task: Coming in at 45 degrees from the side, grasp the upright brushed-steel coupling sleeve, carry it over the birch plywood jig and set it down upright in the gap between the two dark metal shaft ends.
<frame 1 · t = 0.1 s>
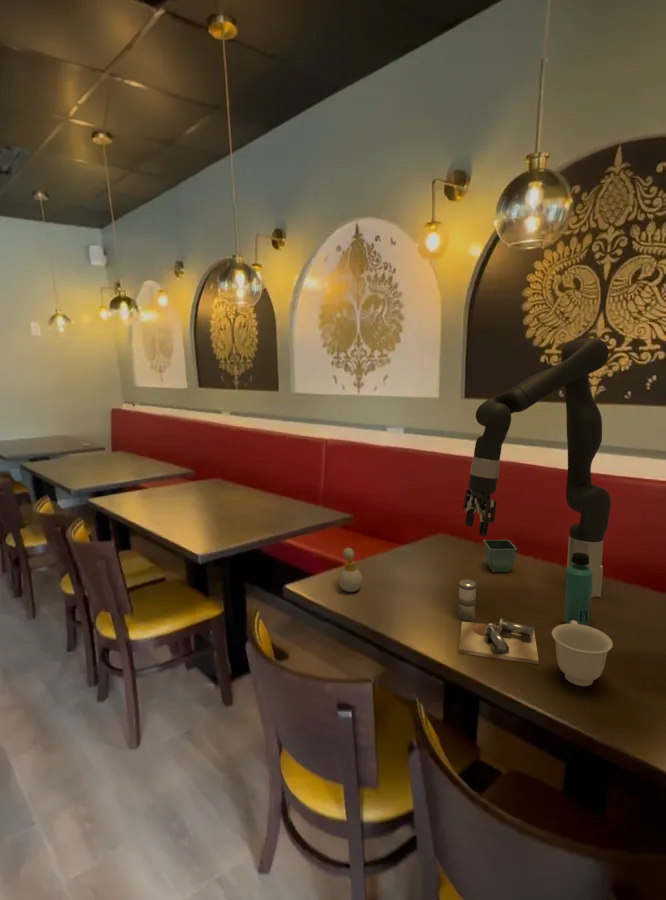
hand: (475, 530, 147), 22 cm above the table, tool pointing down, fingers open, 8 cm apart
perfume bottle: (348, 589, 163), on the table
beverage bottle: (575, 627, 138), on the table
base board: (497, 643, 130), on the table
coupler: (466, 616, 144), on the table
shaft a: (516, 629, 131), on the base board, point 3 cm above the table
teacup: (577, 675, 117), on the table
shaft b: (496, 638, 127), on the base board, point 3 cm above the table
flower pot: (498, 570, 175), on the table
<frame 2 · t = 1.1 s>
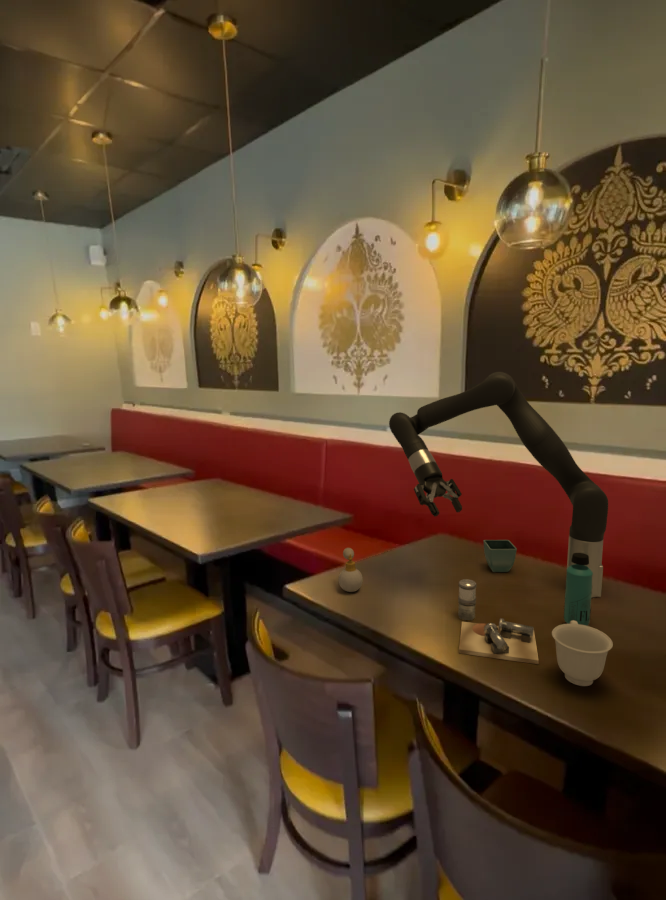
hand: (448, 513, 152), 26 cm above the table, tool tilted 45°, fingers open, 8 cm apart
nothing on the table moved.
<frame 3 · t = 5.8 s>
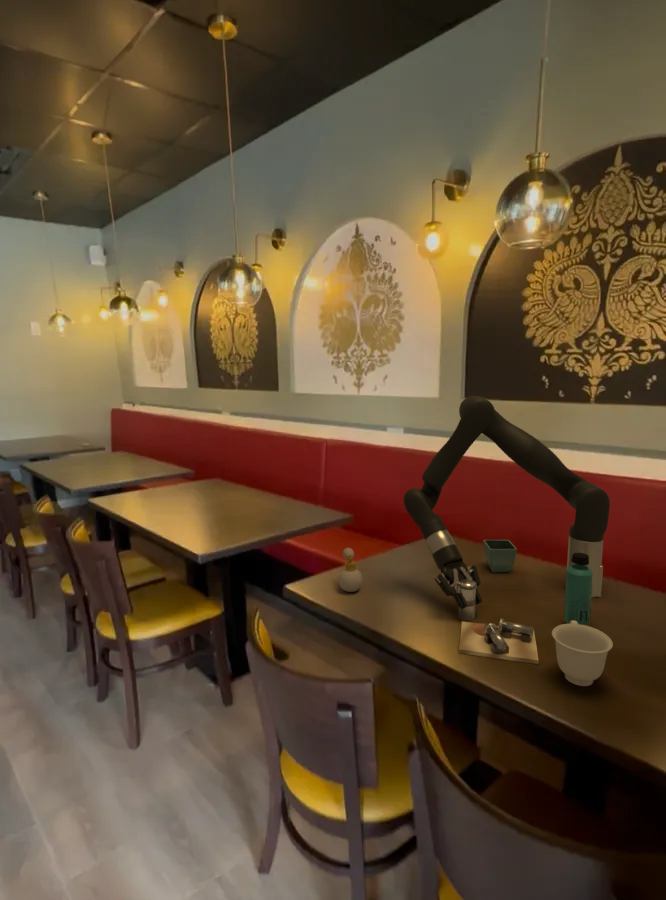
hand: (471, 605, 142), 4 cm above the table, tool tilted 45°, fingers closed on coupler, 4 cm apart
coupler: (466, 616, 144), on the table, touching gripper
everything else where it was.
when the fingers open (5 cm above the table, at t = 10.3 s): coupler stays where it is, resting on base board.
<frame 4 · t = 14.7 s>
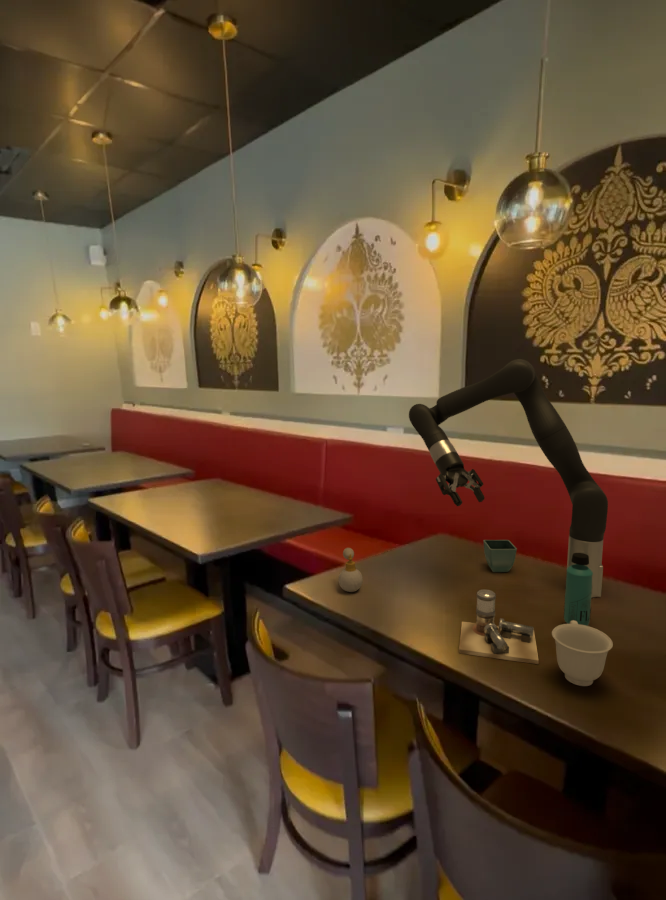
hand: (471, 502, 152), 29 cm above the table, tool tilted 45°, fingers open, 8 cm apart
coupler: (484, 629, 135), point 1 cm above the table, touching base board
everything else where it was.
at the end: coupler 0.1 cm from the target spot, point 1.1 cm above the table; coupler tilted 0°; the gripper is holding nothing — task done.
